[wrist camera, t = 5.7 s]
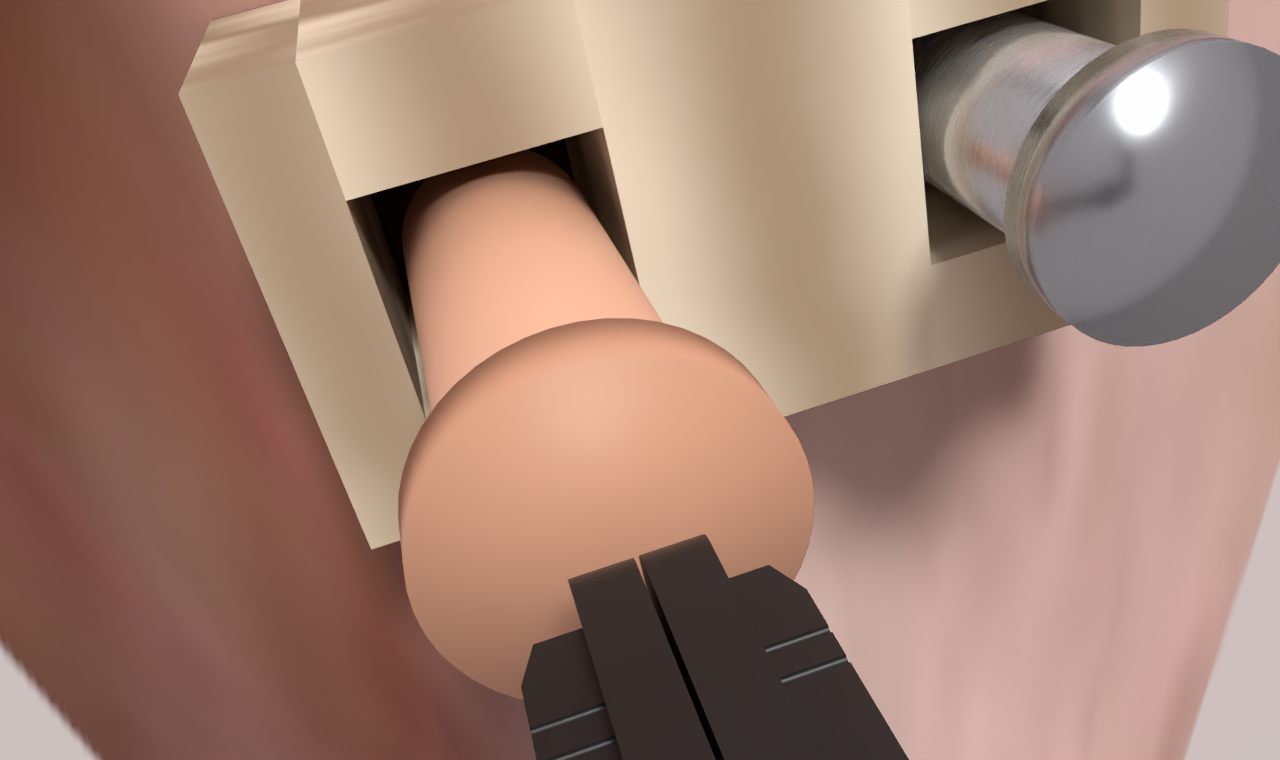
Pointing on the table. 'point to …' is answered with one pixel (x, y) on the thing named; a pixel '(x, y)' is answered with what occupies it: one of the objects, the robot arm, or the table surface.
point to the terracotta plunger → (565, 422)
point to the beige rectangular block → (618, 180)
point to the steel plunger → (1111, 166)
